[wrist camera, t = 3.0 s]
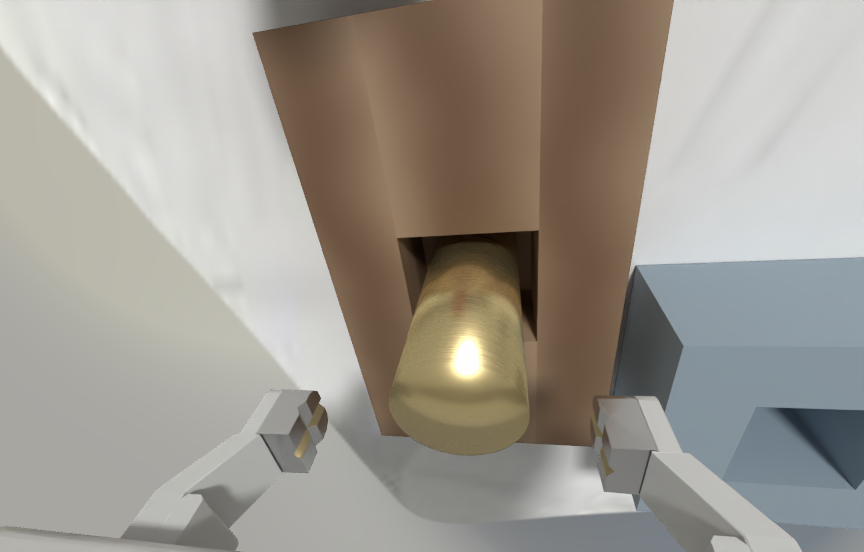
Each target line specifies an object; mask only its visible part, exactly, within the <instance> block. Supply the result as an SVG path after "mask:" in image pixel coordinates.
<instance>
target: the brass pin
mask: <svg viewBox="0 0 864 552" xmlns="http://www.w3.org/2000/svg"><path fill="white" fill-rule="evenodd" d="M389 408H390V412H391V414H392V417H393V419H394V420H395V422H396V423H397V425H398V426H399V427H400V428H401V429H402V430H403V431H404V432H405V433H406V434H407V435H408V436H410V437H411V438H413V439H414V440H416V441H417V442H419V443H421V444H423V445H425V446H427V447H430V448H432V449H435V450H438V451H442V452H445V453H450V454H457V455H483V454H489V453H493V452H497V451H500V450H503V449H505V448H507V447H509V446H510V445H512V444H514V443H515V442H516V441H517V440H519V439H520V438H521V436H522V435H523V434H524V433H525V431H526V429H527V427H528V424H529V417H530V414H529V401H528V388H527V375H526V362H525V349H524V336H523V323H522V310H521V297H520V284H519V271H518V258H517V245H516V238H515V235H514V233H513V232H499V233H481V234H462V235H444V236H438V238H437V241H436V244H435V248H434V251H433V254H432V257H431V261H430V264H429V267H428V271H427V274H426V277H425V280H424V284H423V287H422V290H421V293H420V297H419V300H418V303H417V306H416V310H415V313H414V316H413V319H412V323H411V326H410V329H409V333H408V336H407V339H406V342H405V346H404V349H403V352H402V355H401V359H400V362H399V365H398V368H397V372H396V375H395V378H394V381H393V385H392V388H391V391H390V395H389Z"/></svg>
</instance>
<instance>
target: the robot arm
mask: <svg viewBox="0 0 864 552" xmlns="http://www.w3.org/2000/svg"><path fill="white" fill-rule="evenodd" d="M320 399H321V398H320V396H319V393H318V391H307V390H283V389H271V390H269V391H268V392H266V394H265V395H264V397H263V399H262V400H261V402H260V403H259V405H258V406H257V408H256V409H255V411H254V412H253V414H252V415H251V417H250V418H249V420H248V422H247V423H246V425H245V426H244V428H243V429H242V431H241V433H239V434H238V433H235V434H234V435H233V436H231V437H230V438H228V439H227V440H226V441H224V442H223V443H221V444H220V445H219V446H218V447H216V448H214V449H213V450H212V451H210V452H209V453H207V454H206V455H204V456H203V457H202V458H200V459H199V460H197V461H196V462H195V463H194V464H192V465H190V466H189V467H188V468H186V469H185V470H183V471H182V472H181V473H179V474H178V475H176V476H175V477H174V478H172V479H171V480H169V481H168V482H167V483H165V484H164V485H163V486H161V487H160V488H158V489H157V490H156V491H155V492H154V494H153V495H152V497H151V498H150V499H149V500H148V502H147V503H146V504H145V506H144V507H143V508H142V510H141V511H140V512H139V514H138V515H137V516H136V518H135V519H134V521H133V522H132V523H131V524H130V526H129V527H128V529H127V530H126V531H125V533H124V534H123V535H122V536H121V538H120V539H119V538H110V537H100V536H91V535H82V534H73V533H63V532H54V531H46V530H37V529H28V528H20V527H8V526H4V527H0V552H238V551H235V550H236V548H237V546H238V539H237V538H236V537H235V535H234V534H233V533H232V532H231V531H230V529H229V528H230V526H231V525H232V524H233V523H234V522H235V521H236V520H237V519H238V518H239V517H240V516H241V515H242V514H243V513H244V512H245V511H246V510H247V509H248V508H249V507H250V506H251V505H252V504H253V503H254V502H255V501H256V500H257V499H258V498H259V497H260V496H261V495H262V494H263V493H264V492H265V491H266V490H267V489H268V488H269V487H270V486H271V485H272V484H273V483H274V482H275V481H276V480H277V479H278V478H279V477H280V476H281V475H282V472H295V473H296V472H297V473H309V470H310V467H311V465H312V463H313V461H314V458H315V456H316V454H317V450H316V446H315V445H316V444H318V443H319V442H320V441H321V440H322V439H323V438H324V435H325V432H326V429H327V423H328V417H327V412H326V410H325V408H324V407H323V406H321V405H320V404H319V402H320ZM592 406H593V410H594V413H593V414H592V415H591V419H590V434H591V440H592V445H593V449H594V452H595V453H596V454H597V455H598V456H599V461H598V470H599V474H600V478H601V482H602V486H603V490H604V492H615V493H626V494H637V495H640V496H639V497H640V498H641V499H642V500H643V501H644V503H645V504H646V505H647V506H648V507H649V509H650V510H651V511H652V512H653V513H654V514H655V516H656V517H657V518H658V519H659V520H660V522H661V523H662V524H663V525H664V526H665V527H666V529H667V530H668V531H669V532H670V533H671V535H672V536H673V537H674V538H675V539H676V540H677V542H678V543H679V544H680V545H681V546H682V547H683V549H684V550H685V551H686V552H802V551H801V549H800V547H799V545H798V544H797V542H796V540H794V539H793V538H792V537H791V536H790V535H788V534H787V533H786V532H785V531H784V530H782V529H781V528H780V527H779V526H777V525H776V524H775V523H774V522H773V521H771V520H770V519H769V518H768V517H767V516H765V515H764V514H763V513H762V512H760V511H759V510H758V509H757V508H756V507H754V506H753V505H752V504H751V503H750V502H748V501H747V500H746V499H745V498H743V497H742V496H741V495H740V494H739V493H737V492H736V491H735V490H734V489H732V488H731V487H730V486H729V485H728V484H726V483H725V482H724V481H723V480H722V479H720V478H719V477H718V476H717V475H715V474H714V473H713V472H712V471H711V470H709V469H708V468H707V467H706V466H705V465H703V464H702V463H701V462H700V461H698V460H697V459H696V458H695V457H694V456H692V455H691V454H690V453H683V452H682V450H681V448H680V445H679V443H678V441H677V439H676V437H675V435H674V432H673V430H672V428H671V426H670V424H669V422H668V419H667V417H666V415H665V413H664V411H663V409H662V406H661V404H660V402H659V400H658V399H657V398H656V397H655V396H604V395H595V396H594V398H593V402H592Z"/></svg>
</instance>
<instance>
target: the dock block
mask: <svg viewBox="0 0 864 552" xmlns="http://www.w3.org/2000/svg"><path fill="white" fill-rule="evenodd" d="M614 396H655V397H656V398H657V399H658V400H659V402H660V404H661V406H662V409H663V411H664V413H665V415H666V417H667V419H668V422H669V424H670V426H671V428H672V430H673V432H674V435H675V437H676V439H677V441H678V443H679V445H680V448H681V450H682V452H683V453H690V454H691V455H692V456H694V457H695V458H696V459H697V460H698V461H700V462H701V463H702V464H703V465H705V466H706V467H707V468H708V469H709V470H711V471H712V472H713V473H714V474H715V475H717V476H718V477H719V478H720V479H722V480H723V481H724V482H725V483H726V484H728V485H729V486H730V487H731V488H732V489H734V490H735V491H736V492H737V493H739V494H740V495H741V496H742V497H743V498H745V499H746V500H747V501H748V502H750V503H751V504H752V505H753V506H754V507H756V508H757V509H758V510H759V511H760V512H762V513H763V514H764V515H765V516H767V517H768V518H769V519H770V520H771V521H773V522H779V523H791V524H802V525H816V526H826V527H838V528H850V529H862V530H864V258H837V259H808V260H779V261H750V262H721V263H692V264H663V265H636V270H635V276H634V282H633V288H632V293H631V299H630V305H629V311H628V316H627V322H626V328H625V334H624V340H623V345H622V351H621V357H620V363H619V368H618V374H617V380H616V386H615V392H614ZM632 496H633V500H634V503H635V507H636V510H637V511H647V512H652V511H651V510H650V509H649V507H648V506H647V505H646V504H645V503H644V501H643V500H642V499H641V498H640V497H639V496H640V495H637V494H632Z"/></svg>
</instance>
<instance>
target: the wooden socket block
mask: <svg viewBox="0 0 864 552" xmlns="http://www.w3.org/2000/svg"><path fill="white" fill-rule="evenodd" d="M673 3H674V0H433V1H427V2H421V3H416V4H410V5H405V6H399V7H394V8H388V9H383V10H377V11H371V12H366V13H360V14H355V15H349V16H344V17H338V18H333V19H327V20H321V21H316V22H310V23H305V24H299V25H294V26H288V27H282V28H277V29H271V30H266V31H260V32H255V33H253V36H254V39H255V42H256V46H257V49H258V52H259V55H260V58H261V61H262V64H263V67H264V70H265V74H266V77H267V80H268V83H269V86H270V89H271V92H272V95H273V98H274V102H275V105H276V108H277V111H278V114H279V117H280V120H281V123H282V126H283V129H284V133H285V136H286V139H287V142H288V145H289V148H290V151H291V154H292V157H293V161H294V164H295V167H296V170H297V173H298V176H299V179H300V182H301V185H302V189H303V192H304V195H305V198H306V201H307V204H308V207H309V210H310V213H311V216H312V220H313V223H314V226H315V229H316V232H317V235H318V238H319V241H320V244H321V248H322V251H323V254H324V257H325V260H326V263H327V266H328V269H329V272H330V276H331V279H332V282H333V285H334V288H335V291H336V294H337V297H338V300H339V304H340V307H341V310H342V313H343V316H344V319H345V322H346V325H347V328H348V331H349V335H350V338H351V341H352V344H353V347H354V350H355V353H356V356H357V359H358V363H359V366H360V369H361V372H362V375H363V378H364V381H365V384H366V387H367V391H368V394H369V397H370V400H371V403H372V406H373V409H374V412H375V415H376V418H377V422H378V425H379V428H380V431H381V434H382V435H385V436H404V437H410V436H408V435H407V434H406V433H405V432H404V431H403V430H402V429H401V428H400V427H399V426H398V425H397V423H396V422H395V420H394V419H393V417H392V414H391V412H390V408H389V395H390V391H391V388H392V385H393V381H394V378H395V375H396V372H397V368H398V365H399V362H400V359H401V355H402V352H403V349H404V346H405V342H406V339H407V336H408V333H409V329H410V326H411V323H412V319H413V316H414V313H415V310H416V306H417V303H418V300H419V297H420V293H421V290H422V287H423V284H424V280H425V277H426V274H427V271H428V267H429V264H430V261H431V257H432V254H433V251H434V248H435V244H436V241H437V238H438V236H444V235H462V234H481V233H499V232H513V233H514V235H515V238H516V245H517V258H518V271H519V284H520V297H521V310H522V323H523V336H524V349H525V362H526V375H527V388H528V401H529V414H530V417H529V424H528V427H527V429H526V431H525V433H524V434H523V435H522V436H521V438H520V439H519V440H517V441H516V442H515V443H534V444H552V445H571V446H589V447H593V445H592V440H591V434H590V419H591V415H592V414H593V413H594V410H593V406H592V402H593V398H594V396H595V395H604V396H609V393H610V387H611V381H612V375H613V369H614V363H615V357H616V351H617V344H618V338H619V332H620V326H621V320H622V314H623V308H624V302H625V296H626V290H627V283H628V277H629V271H630V265H631V259H632V253H633V247H634V241H635V235H636V228H637V222H638V216H639V210H640V204H641V198H642V192H643V186H644V180H645V173H646V167H647V161H648V155H649V149H650V143H651V137H652V131H653V125H654V119H655V112H656V106H657V100H658V94H659V88H660V82H661V76H662V70H663V64H664V57H665V51H666V45H667V39H668V33H669V27H670V21H671V15H672V9H673Z"/></svg>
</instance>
